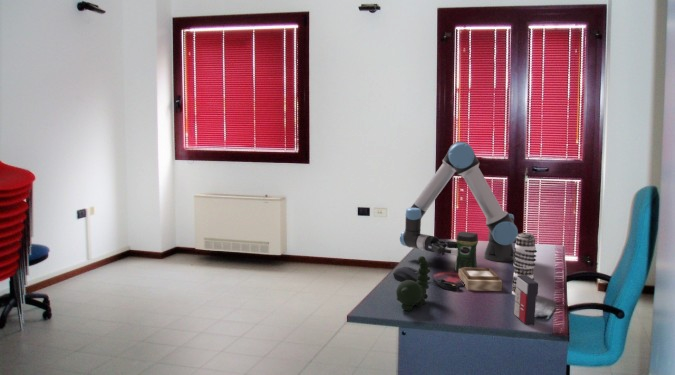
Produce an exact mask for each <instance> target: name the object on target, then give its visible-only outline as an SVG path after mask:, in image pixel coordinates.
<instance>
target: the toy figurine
mask: <svg viewBox="0 0 675 375" xmlns="http://www.w3.org/2000/svg"><path fill="white" fill-rule="evenodd" d="M417 264H419V268H418V269H417V270H418V271H419V274H418V276H417V282H415V281H412V280H406V281H403V282H400V283H399V284H398V286H397V287H396V300H397V302H400V303H401V309H402V310H404V311H407V312H410V311H412V310H413V309H414V306H415V305H416V306H417V307H421V306H422V305H425V304H426V300H427V299H428V297H429V295H428V294H427V290H428V289H429V288H430V286H429V283H427V282H429V281H430V280H431V277H430V276H429V275H428V274H429V273H431V269H429V266H430V265H431V264H430V262H428V261H427V259H426V257H425V256H423V255H420V256H419V257H418V259H417Z"/></svg>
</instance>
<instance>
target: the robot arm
mask: <svg viewBox="0 0 675 375" xmlns="http://www.w3.org/2000/svg"><path fill="white" fill-rule="evenodd" d="M474 152H475V151H474V148H473V147H472V146H471V145H470V144H468V143H467V142H465V141H456V142H454V143H452V145H450V147H449V148H448V151H447V153H446V154H445V155H444V158H443V159H442V164H441V165H440V166H439V168H438V169H437V171H435V173H434V175H433V176H432V177H431V179H430V180H429V182H428V183H427V184H426V186H425V188H423V190H422V191H421V193H420V194H419V195H418V197H417V198H416V200H415V201H414V203H413V204H412V205H411V206H410V207H407V208H406V210H405V226H404V227H405V230H403V231H402V232H401V233H400V236H399V242H400V244H401V245H402V246H404V247H407V248H412V249H417V250H421V251H422V252H424V251H427V252H431V253H437V254H439V255H442V256H445V254H446V255H450V256H454V257H457V256H458V246H457V242H456V241H452V240H446V239H445V240H440V239H439V238H438V237H437V236H433V235H431V234H423V233H421V226H422V218H423V217H424V215H425V214H426V212H427V211H428V210H429V208H430V207H431V205H432V204H433V203H434V202H435V200H436V199H437V197H438V196H439V194H441V192H442V191H443V189H444V188H445V187H446V186H447V184H448V182H449V181H450V180H451V178H452V177H453V175H455V173H456V175H458V176H462V177H463V180H464V181H465V183H466V185H467V187H468V189H469V191H470V192H471V193H472V196H473V198H475V201H476V203H477V205H478V206H479V208H480V209H481V211H482V213H483V215H484V216H485V218H486V219H485V220H486V221H485V225H486V226H487V229H488V230H489V231H488V243H487V245H486V248H485V251H484V256H483V258H484V259H486V260H489V261H493V262H501V263H502V262H504V263H505V262H508V263H509V262H513V261H514V259H513V258H514V257H515V256H514V255H513V253H514V251H513V250H514V245H513V243H514V242H516V236H517V235H518V234H519V232H518V231H519V230H518V227H517V225H516V224H515V222H514V221H515V216H514V214H512V213H509V212H508V211H505V210H503V208H502V206H501V204H500V203H499V201H498V200H497V197H496V196H495V194H494V193H493V190H492V189H491V187H490V185H489V183H488V182H487V180H486V178H485V176H484V174H483V173H482V171H481V169H480V168H479V167H480V161H479V159H478V156H476V154H475V153H474Z"/></svg>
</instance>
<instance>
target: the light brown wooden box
mask: <svg viewBox="0 0 675 375" xmlns="http://www.w3.org/2000/svg"><path fill="white" fill-rule="evenodd" d="M457 273H458V274H457V275H458V276H459V277H460V279H461V280H462V281H463V282H464V284H465V286H464V287H465V288H466V290H467V291H481V292H482V291H490V292H492V291H493V292H502V291H503V290H502V289H503V281H502V280H501V279H500V276H499V275H498V274H497V273H496V272H495V271H494V270H493V269H492V268H490V267H477V268H466V267H463V268H461V269H459V272H457ZM460 279H459V280H460ZM461 280H460V281H461ZM464 284H463V285H464Z"/></svg>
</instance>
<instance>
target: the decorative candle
mask: <svg viewBox="0 0 675 375" xmlns="http://www.w3.org/2000/svg"><path fill="white" fill-rule="evenodd" d="M536 239H537V237H535V235H534V234H532V233H530V232H520V233H519V232H518V235H517V236H516V240H515V245H514V247H513V249H514V250H513V251H514V253H513V255H514V256H515V257H514V258H513V259H514V261H512V264H513V265H512V266H513V267H514V270H513V276H512V284H511V294H512V295H513V296H515V291H516V288H517V287H516V283H517V276H518V275H527V276H529V277H530V278H531V279H533V280H534V281H535V277H534V268H535V266H536V264H535V263H534V262H536V261H537V259H536V257H537V255H536V254H535V253H537V252H538V251H537V250H536V249H537V247H536Z"/></svg>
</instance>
